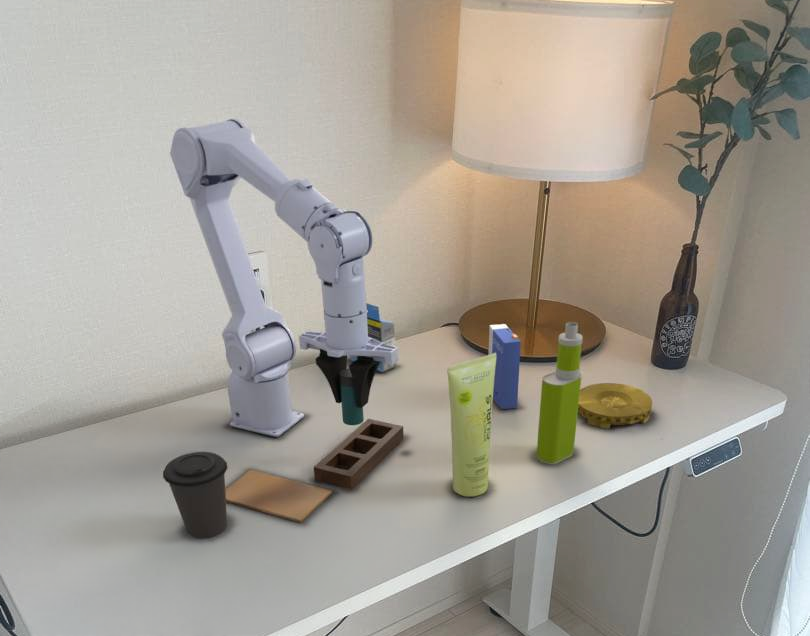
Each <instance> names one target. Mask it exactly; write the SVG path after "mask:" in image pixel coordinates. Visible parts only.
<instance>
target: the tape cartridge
mask: <svg viewBox="0 0 810 636" xmlns="http://www.w3.org/2000/svg"><path fill="white" fill-rule="evenodd" d="M366 307H367V326H368V337H370V338H372V339H375V340H377V341H380V342H382V343H385V344H387V345H391V346H395V347H396V337H395V336H396V335H395V334H396V333H395V323H394V322H392V321H388V320H386V319H382V318H380V309H379V306H376V305H373V304H370V303H367V302H366ZM349 360H350V362H352V363H353V362H354V361H355V360H357V357H354V356H349ZM396 364H397V362H396V363H395V364H393V365H392V366H390V365H386V364H385V362H380V364H379V366H378V368H377V371H378V372H380V373H385V372H387V371H389V370H392V369H394V368H395V367H396V366H397V365H396ZM377 371H376V372H377Z"/></svg>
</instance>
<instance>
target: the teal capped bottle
mask: <svg viewBox="0 0 810 636" xmlns="http://www.w3.org/2000/svg"><path fill="white" fill-rule="evenodd" d="M339 378H340V391H341V403H340V404H341V415H342V422H343V424H345V425H347V426H359V425H362V424H363V423H364V406H363V407H362V408H359V407H357V404H356V397H355V386H354V381H353V378H352V374H351V372H350V369H349V368H346V369H344V370H342V371H340V373H339Z"/></svg>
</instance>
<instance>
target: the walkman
mask: <svg viewBox="0 0 810 636" xmlns="http://www.w3.org/2000/svg"><path fill="white" fill-rule="evenodd" d="M488 335H489V336H488V355H491V354H493V353H496V366H495V376H494V388H493V401H494V402H495V403H496V404H497V405H498V407H499V408H500V410H509V409H516V408H518V400H519V399H518V398H519V396H518V395H519V381H520V380H519V378H520V365H521V364H520V362H521V347H522V341H521V339H519V337H518V335H517V334H516V333H514V332H513V330H511V328H510V327H508V326H507V324H506V323H502V324H501V323H500V324H490V325H489V334H488Z"/></svg>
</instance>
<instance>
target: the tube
mask: <svg viewBox="0 0 810 636" xmlns="http://www.w3.org/2000/svg"><path fill="white" fill-rule="evenodd" d="M495 366H496V353H493V354H491V355H484V356H482V357H478V358H475V359H471V360H468V361H464V362H461V363H458V364H455V365H451V366H448V367H447V383H448V391H449V406H450V429H451V457H452V458H451V461H452V462H451V465H452V470H451V471H452V490H453V491H454V492H455V493H456V494H458V495H459V496H463V497H478V496H480V495H482V494H484V493H486V491H487V490H488V486H489V468H490V467H489V466H490V448H491V431H492V430H491V429H492V414H493V401H494V399H493V388H494V376H495Z"/></svg>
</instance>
